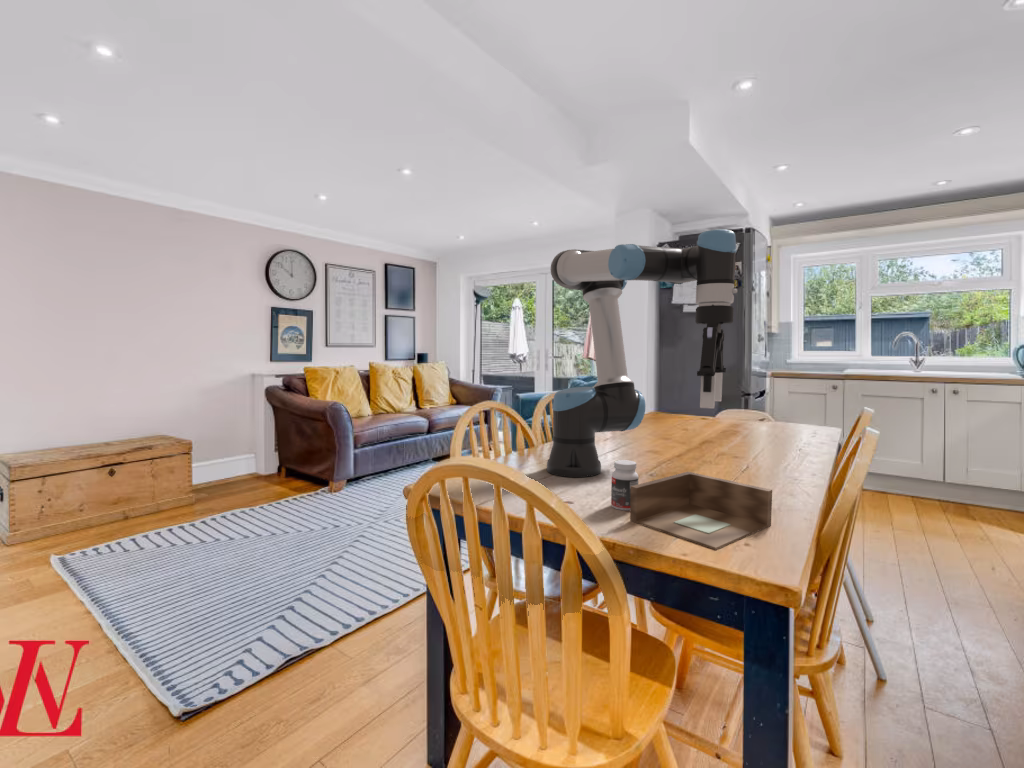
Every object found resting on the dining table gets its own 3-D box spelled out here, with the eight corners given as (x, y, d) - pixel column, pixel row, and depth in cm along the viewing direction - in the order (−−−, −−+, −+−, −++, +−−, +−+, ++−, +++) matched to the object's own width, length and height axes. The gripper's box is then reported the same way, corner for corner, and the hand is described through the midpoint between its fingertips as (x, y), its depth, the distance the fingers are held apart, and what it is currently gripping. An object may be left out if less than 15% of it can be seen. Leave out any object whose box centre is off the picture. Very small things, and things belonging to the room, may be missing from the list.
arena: (630, 520, 101) (630, 486, 100) (687, 502, 113) (687, 471, 112) (716, 549, 86) (717, 509, 86) (771, 525, 98) (772, 489, 97)
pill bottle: (605, 506, 110) (606, 461, 109) (622, 501, 114) (622, 458, 113) (627, 513, 106) (627, 466, 105) (643, 507, 109) (644, 462, 108)
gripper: (728, 300, 95) (724, 412, 96) (738, 308, 117) (734, 399, 118) (686, 302, 98) (683, 410, 100) (703, 309, 120) (701, 397, 122)
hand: (711, 404), depth 109 cm, fingers open, 13 cm apart
